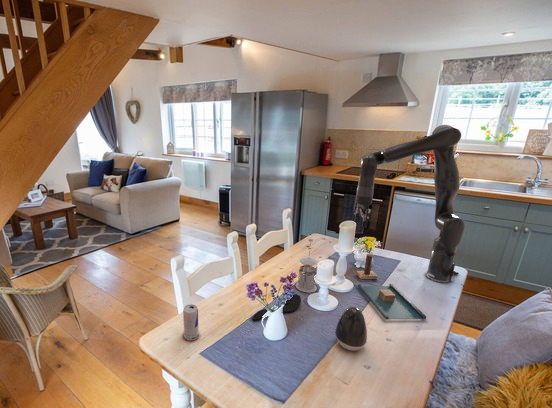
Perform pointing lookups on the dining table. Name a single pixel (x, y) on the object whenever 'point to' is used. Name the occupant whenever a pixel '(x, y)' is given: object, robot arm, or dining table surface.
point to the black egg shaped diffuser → (351, 329)
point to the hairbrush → (286, 309)
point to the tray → (392, 303)
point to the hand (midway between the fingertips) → (360, 224)
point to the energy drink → (190, 322)
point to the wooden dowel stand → (367, 269)
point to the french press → (307, 274)
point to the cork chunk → (386, 295)
